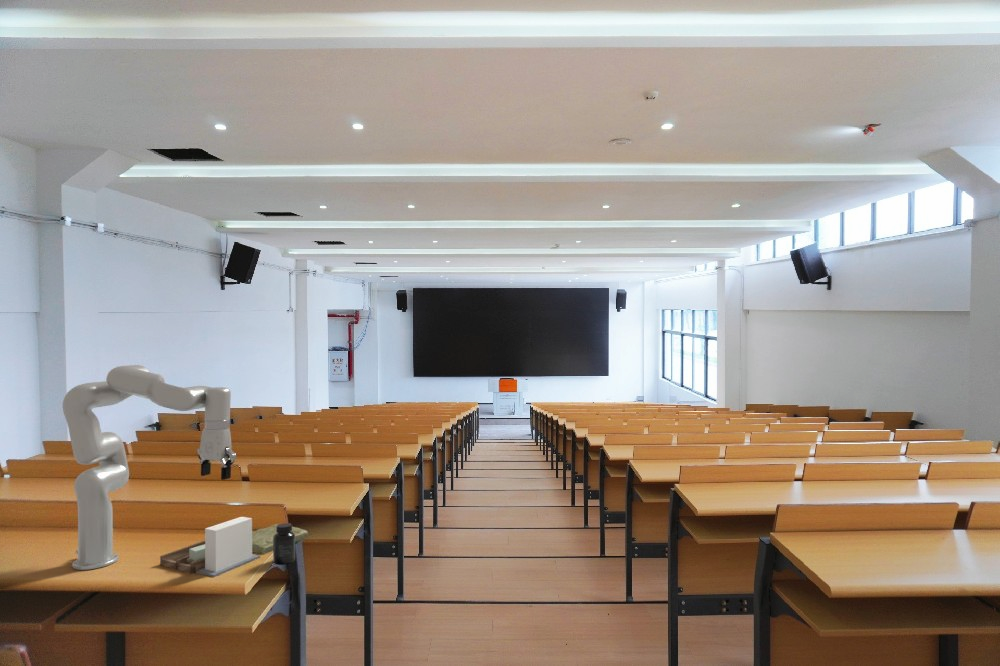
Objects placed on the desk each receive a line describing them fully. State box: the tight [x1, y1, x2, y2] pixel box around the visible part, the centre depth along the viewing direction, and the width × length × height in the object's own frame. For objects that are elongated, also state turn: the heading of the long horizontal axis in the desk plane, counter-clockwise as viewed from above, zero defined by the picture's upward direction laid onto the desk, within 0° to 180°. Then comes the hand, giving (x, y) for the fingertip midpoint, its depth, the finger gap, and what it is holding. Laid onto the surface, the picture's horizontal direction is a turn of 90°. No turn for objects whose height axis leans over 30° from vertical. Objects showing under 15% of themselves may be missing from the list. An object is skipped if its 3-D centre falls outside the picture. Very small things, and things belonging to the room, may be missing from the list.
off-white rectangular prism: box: [204, 516, 253, 572], centre depth 193 cm, size 5×14×13 cm, turn 154°
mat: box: [196, 553, 261, 578], centre depth 193 cm, size 8×18×1 cm, turn 154°
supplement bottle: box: [272, 522, 296, 566], centre depth 196 cm, size 7×7×12 cm
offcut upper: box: [189, 544, 205, 561], centre depth 195 cm, size 4×10×3 cm, turn 144°
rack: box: [159, 540, 205, 574], centre depth 197 cm, size 16×18×3 cm
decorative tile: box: [252, 523, 309, 555], centre depth 215 cm, size 19×20×4 cm
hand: (215, 476), depth 193 cm, fingers open, 9 cm apart
